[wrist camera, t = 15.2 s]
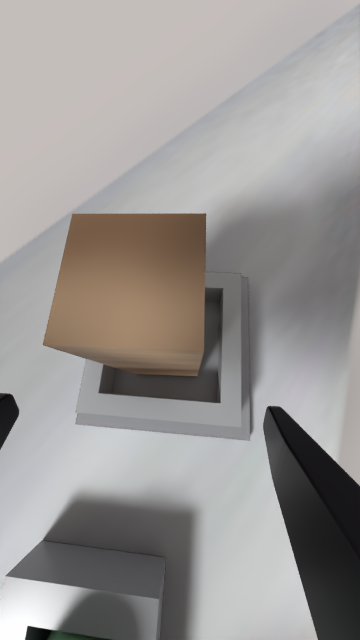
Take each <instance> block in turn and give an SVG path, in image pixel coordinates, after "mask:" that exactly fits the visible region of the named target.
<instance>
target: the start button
mask: <svg viewBox="0 0 360 640" xmlns="http://www.w3.org/2000/svg"><path fill="white" fill-rule="evenodd" d="M47 640H111V639H105V638H99V637H93V636H87V635H81V634H75V633H69V632H63V631H57V630H52V631H51V633H50V635H49V636H48V638H47Z"/></svg>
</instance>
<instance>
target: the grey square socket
mask: <svg viewBox="0 0 360 640" xmlns="http://www.w3.org/2000/svg"><path fill="white" fill-rule="evenodd" d="M76 412H77V418H76V423H75V424H78V425H89V426H99V427H110V428H121V429H131V430H142V431H152V432H163V433H174V434H184V435H195V436H205V437H216V438H226V439H237V440H248V441H250V398H249V309H248V277H241V273H220V272H205V314H204V353H203V356H202V360H201V364H200V368H199V372H198V376H197V377H183V376H161V375H139V374H133V373H130V372H127V371H124V370H120V369H117V368H114V367H111V366H108V365H105V364H101V363H98V362H95V361H92V360H89V359H86V361H85V366H84V372H83V377H82V382H81V387H80V392H79V397H78V402H77V407H76Z"/></svg>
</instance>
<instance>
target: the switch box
mask: <svg viewBox="0 0 360 640" xmlns="http://www.w3.org/2000/svg"><path fill="white" fill-rule="evenodd" d="M165 563H166V557H159V556H152V555H144V554H137V553H130V552H122V551H115V550H107V549H100V548H93V547H85V546H78V545H70V544H63V543H56V542H48V541H41V542H40V543H39V544H38V545H37V546H36V547H35V548H34V549H33V550H32V551H31V552H30V553H29V554H27V555H26V556H25V557H24V558H23V559H22V560H21V561H20V562H19V563H18V564H17V565H16V566H15V567H14V568H13V569H12V570H11V571H10V572H9V573H8V574H7V575H6V576H5V580H4V584H3V588H2V592H1V597H0V640H47V638H48V636H49V635H50V633H51V631H52V630H57V631H63V632H69V633H75V634H81V635H87V636H93V637H99V638H105V639H111V640H160V630H161V616H162V603H163V590H164V577H165Z"/></svg>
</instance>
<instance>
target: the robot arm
mask: <svg viewBox="0 0 360 640" xmlns="http://www.w3.org/2000/svg"><path fill="white" fill-rule="evenodd" d="M18 415H19V408H18V406H17V404H16V402H15V399H14V397H13V395H11V394H7V393H0V449H1V447H2V446H3V444H4V442H5V440H6V438H7V436H8V434H9V433H10V431H11V429H12V427H13V425H14V423H15V421H16V420H17V418H18ZM263 429H264V435H265V441H266V446H267V452H268V458H269V463H270V469H271V474H272V479H273V483H274V487H275V490H276V494H277V497H278V501H279V504H280V508H281V511H282V515H283V518H284V522H285V525H286V529H287V532H288V536H289V539H290V543H291V546H292V550H293V553H294V557H295V560H296V564H297V567H298V571H299V574H300V578H301V581H302V585H303V589H304V592H305V596H306V599H307V603H308V606H309V610H310V613H311V617H312V620H313V624H314V627H315V631H316V634H317V638H318V640H360V486H359V485H358V484H357V483H356V482H355V481H354V480H353V479H352V478H351V477H350V476H349V475H348V474H347V473H346V472H345V471H344V470H343V469H342V468H341V467H340V466H339V465H338V464H337V463H336V462H335V461H334V460H333V459H332V458H331V457H330V456H329V455H328V454H327V453H326V452H325V451H324V450H323V449H322V448H321V447H320V446H319V445H318V444H317V443H316V442H315V441H314V440H313V439H312V438H311V437H310V436H309V435H308V434H307V433H306V432H305V431H304V430H303V429H302V428H301V427H300V426H299V425H298V424H297V423H296V422H295V421H294V420H293V419H292V418H291V417H290V416H289V415H288V414H287V413H286V412H285V411H284V410H283V409H282V408H281V407H279V406H268V407H267V409H266V414H265V418H264V423H263Z"/></svg>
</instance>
